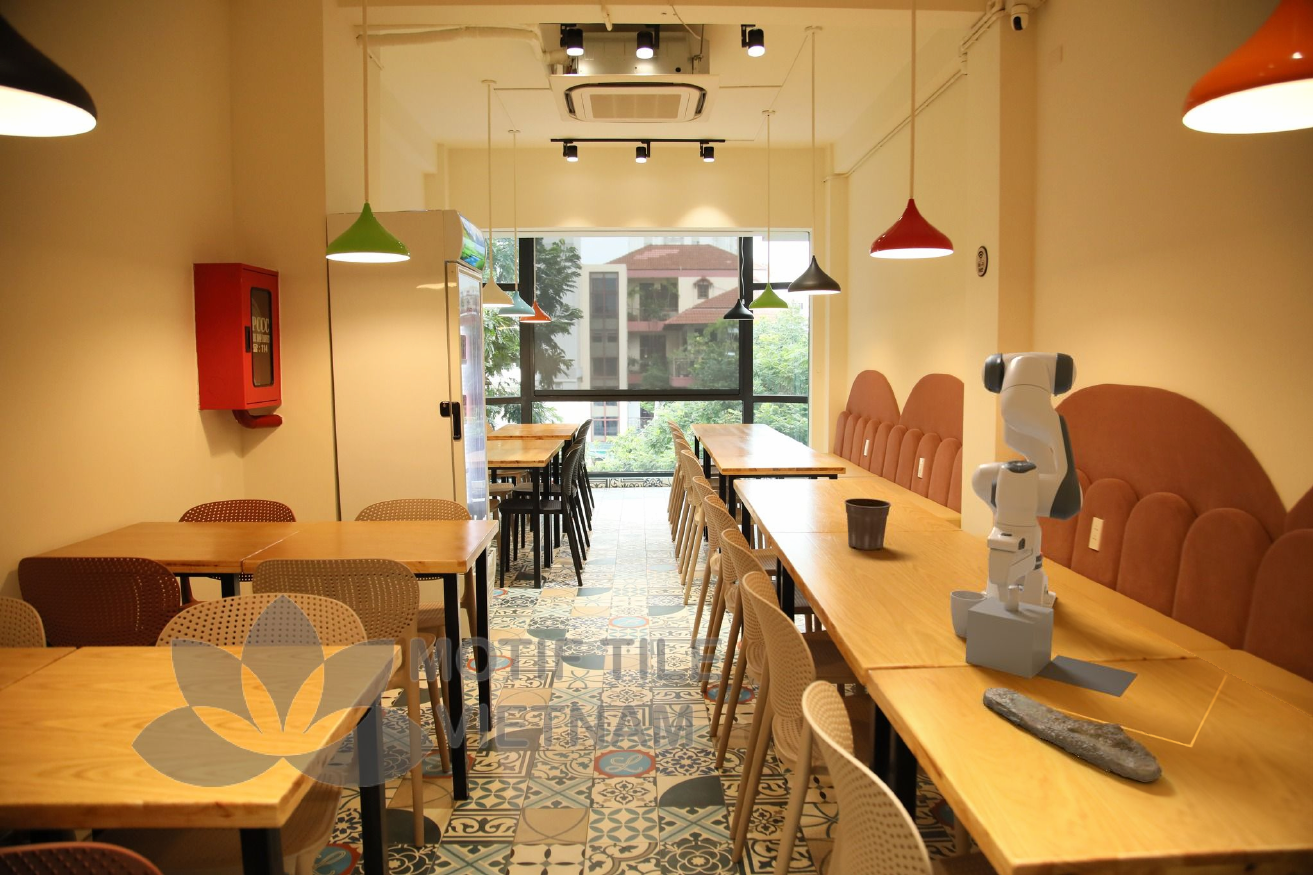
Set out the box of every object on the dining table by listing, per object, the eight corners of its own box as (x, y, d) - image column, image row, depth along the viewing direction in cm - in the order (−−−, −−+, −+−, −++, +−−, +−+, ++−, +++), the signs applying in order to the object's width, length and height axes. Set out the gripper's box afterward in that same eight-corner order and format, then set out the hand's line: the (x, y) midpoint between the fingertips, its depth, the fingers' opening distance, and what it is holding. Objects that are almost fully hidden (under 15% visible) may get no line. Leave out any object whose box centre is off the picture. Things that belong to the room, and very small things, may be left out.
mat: (1057, 656, 183) (1057, 654, 183) (1137, 675, 173) (1137, 673, 173) (1035, 676, 172) (1035, 675, 172) (1119, 698, 161) (1119, 696, 161)
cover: (988, 647, 189) (991, 575, 187) (1050, 662, 180) (1055, 587, 178) (965, 663, 179) (969, 587, 177) (1030, 680, 170) (1035, 600, 168)
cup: (986, 641, 193) (988, 601, 192) (951, 639, 194) (953, 598, 193) (980, 630, 201) (982, 591, 200) (946, 628, 202) (947, 589, 201)
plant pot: (894, 552, 280) (896, 506, 279) (848, 551, 280) (850, 506, 279) (882, 541, 296) (884, 498, 295) (838, 541, 297) (840, 497, 295)
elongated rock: (1006, 702, 163) (969, 713, 159) (1006, 677, 162) (968, 687, 158) (1178, 776, 130) (1136, 792, 127) (1178, 745, 130) (1136, 760, 126)
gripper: (1016, 525, 186) (1012, 584, 188) (983, 540, 171) (980, 603, 172) (1045, 530, 182) (1041, 589, 183) (1014, 545, 167) (1010, 610, 168)
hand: (1011, 596), depth 178 cm, fingers open, 8 cm apart
